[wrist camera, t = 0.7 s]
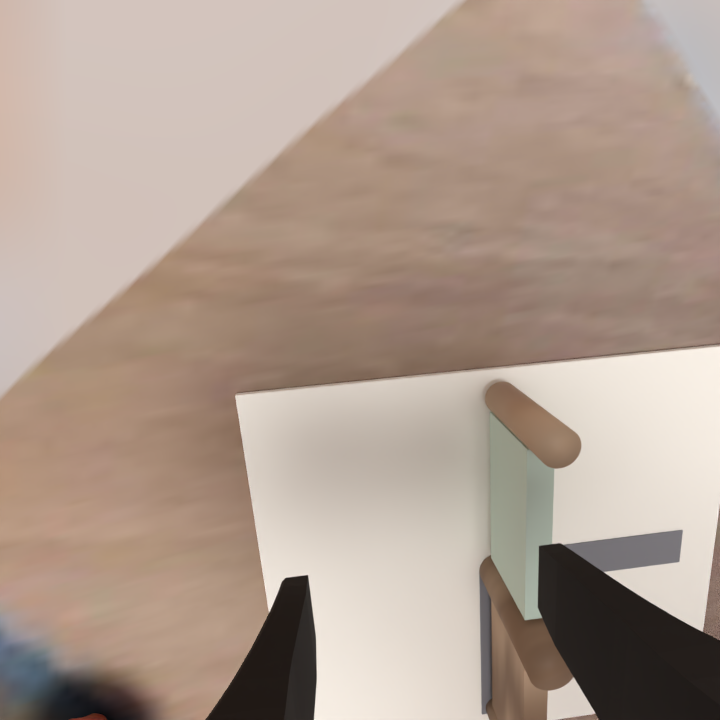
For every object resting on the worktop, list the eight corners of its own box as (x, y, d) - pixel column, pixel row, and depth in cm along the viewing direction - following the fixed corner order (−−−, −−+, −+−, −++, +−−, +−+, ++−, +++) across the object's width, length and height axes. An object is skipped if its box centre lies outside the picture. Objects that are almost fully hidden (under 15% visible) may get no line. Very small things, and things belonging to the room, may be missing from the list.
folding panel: (516, 554, 22) (572, 644, 17) (486, 558, 22) (534, 649, 17) (517, 379, 20) (582, 425, 15) (484, 383, 20) (539, 430, 15)
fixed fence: (514, 713, 25) (568, 841, 20) (481, 717, 25) (526, 848, 19) (515, 550, 22) (577, 647, 17) (478, 555, 22) (529, 654, 17)
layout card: (690, 693, 26) (694, 700, 26) (292, 753, 25) (291, 760, 24) (735, 342, 21) (742, 344, 21) (236, 393, 20) (235, 395, 19)
